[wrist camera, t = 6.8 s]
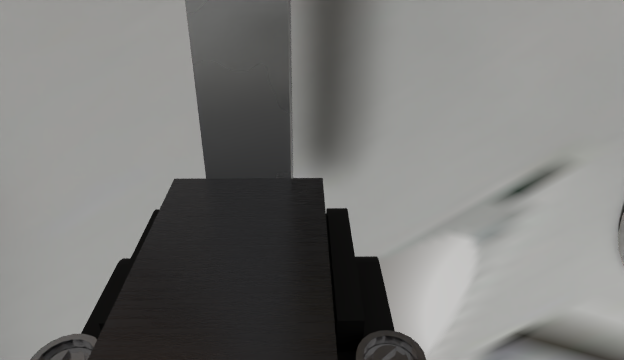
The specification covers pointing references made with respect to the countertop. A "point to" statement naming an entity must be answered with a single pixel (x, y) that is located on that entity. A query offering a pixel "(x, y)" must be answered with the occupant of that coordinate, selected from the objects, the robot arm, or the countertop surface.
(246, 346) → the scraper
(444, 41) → the countertop surface
